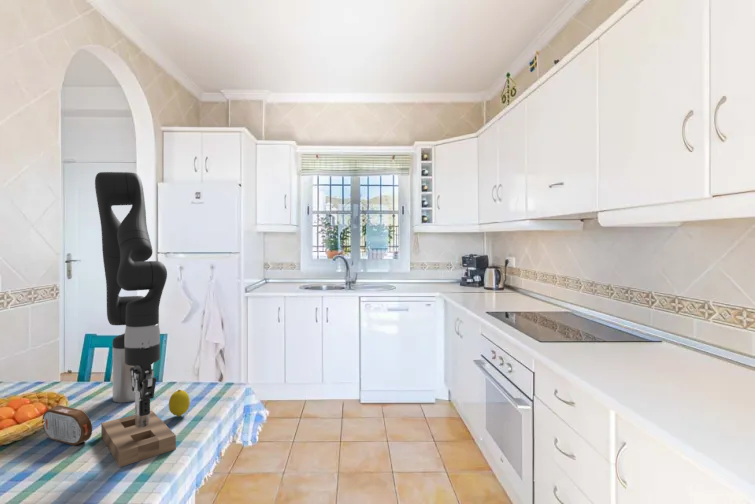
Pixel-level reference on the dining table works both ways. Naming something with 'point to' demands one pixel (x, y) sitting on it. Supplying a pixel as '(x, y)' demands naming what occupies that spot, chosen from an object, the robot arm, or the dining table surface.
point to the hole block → (137, 439)
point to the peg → (139, 420)
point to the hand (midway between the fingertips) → (142, 412)
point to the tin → (67, 425)
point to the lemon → (179, 403)
